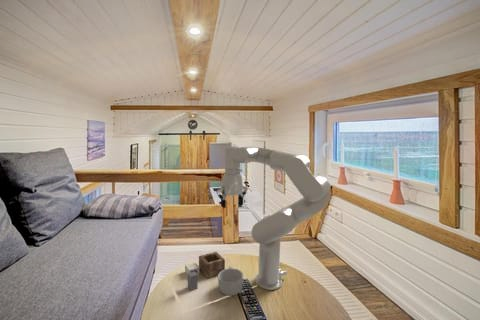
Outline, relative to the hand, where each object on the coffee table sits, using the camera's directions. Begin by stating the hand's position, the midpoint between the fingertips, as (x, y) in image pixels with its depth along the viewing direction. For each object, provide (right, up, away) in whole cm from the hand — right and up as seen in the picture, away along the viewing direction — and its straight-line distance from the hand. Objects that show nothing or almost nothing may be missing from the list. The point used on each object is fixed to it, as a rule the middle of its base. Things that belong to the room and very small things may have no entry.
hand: (232, 206), depth 123 cm
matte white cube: (-19, -34, -2) cm, 39 cm away
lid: (-17, -35, -14) cm, 41 cm away
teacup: (0, -35, -13) cm, 37 cm away
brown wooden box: (-10, -33, 0) cm, 35 cm away
